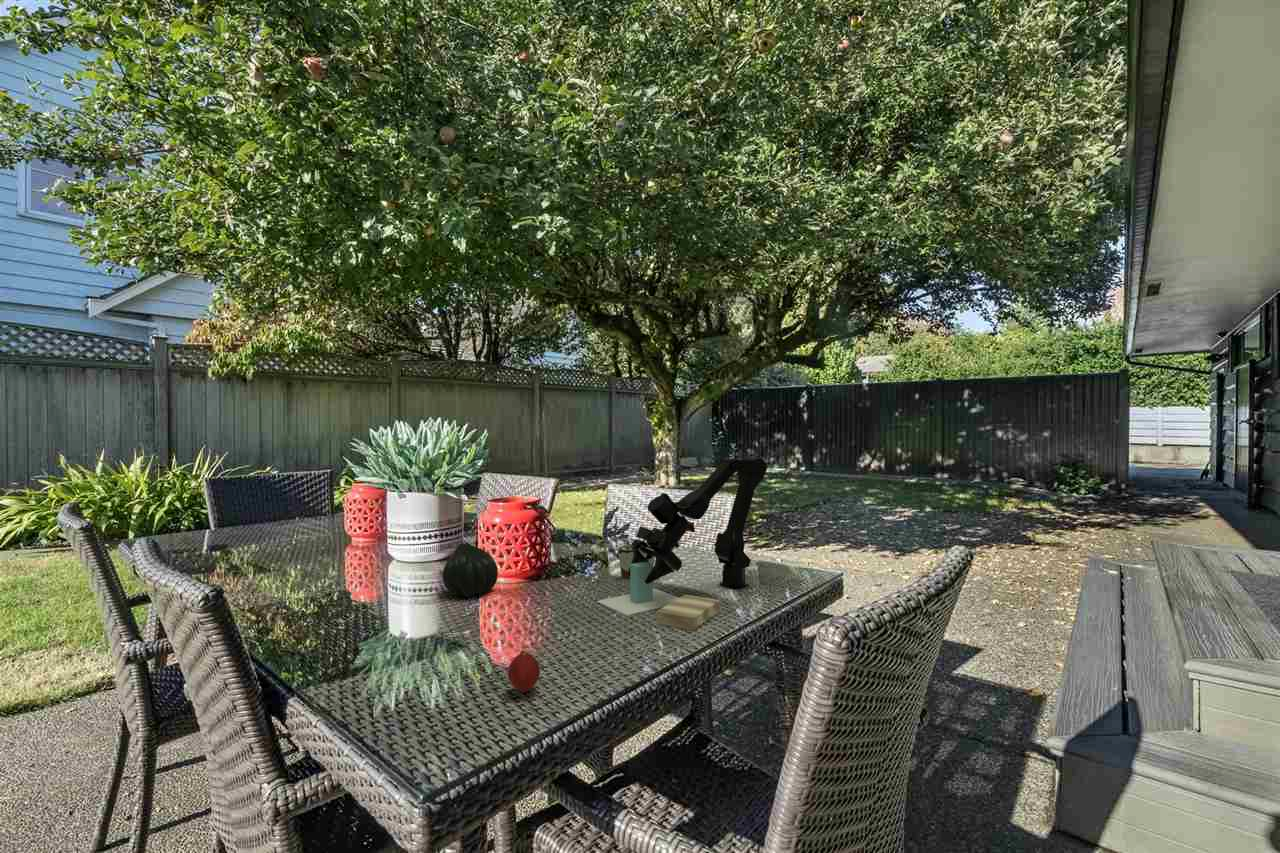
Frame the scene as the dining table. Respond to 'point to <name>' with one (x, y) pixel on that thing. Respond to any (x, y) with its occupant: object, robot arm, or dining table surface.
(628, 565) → the food container
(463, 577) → the squash
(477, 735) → the dining table surface
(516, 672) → the onion
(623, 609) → the mat
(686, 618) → the plate
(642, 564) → the tall teal block
